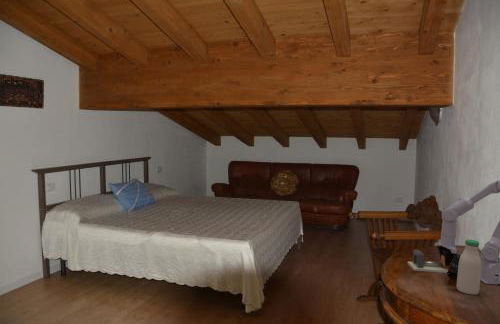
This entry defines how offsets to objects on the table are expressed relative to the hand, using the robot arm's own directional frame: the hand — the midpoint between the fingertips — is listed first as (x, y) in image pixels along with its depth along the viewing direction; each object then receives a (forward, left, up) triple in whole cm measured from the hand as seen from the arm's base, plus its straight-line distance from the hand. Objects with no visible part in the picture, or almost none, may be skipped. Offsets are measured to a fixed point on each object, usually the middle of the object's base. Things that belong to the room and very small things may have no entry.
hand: (445, 264), depth 171 cm
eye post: (0, +12, -2) cm, 12 cm away
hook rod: (0, +4, -1) cm, 5 cm away
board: (0, +6, -2) cm, 6 cm away
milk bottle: (-23, +1, -3) cm, 23 cm away
